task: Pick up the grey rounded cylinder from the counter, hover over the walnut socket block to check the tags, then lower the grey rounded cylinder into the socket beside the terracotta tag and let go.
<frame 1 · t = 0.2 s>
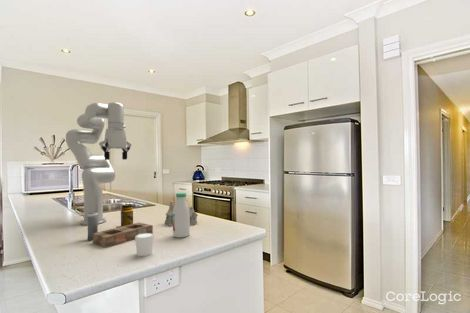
hand: (116, 159, 133), 36 cm above the counter, tool pointing down, fingers open, 9 cm apart
milk bottle: (181, 235, 121), on the counter
socket block: (124, 237, 118), on the counter
condiment: (125, 227, 137), on the counter
shot glass: (144, 254, 99), on the counter
grey rounded cylinder: (92, 239, 117), on the counter
gray stone sculpture: (180, 224, 144), on the counter
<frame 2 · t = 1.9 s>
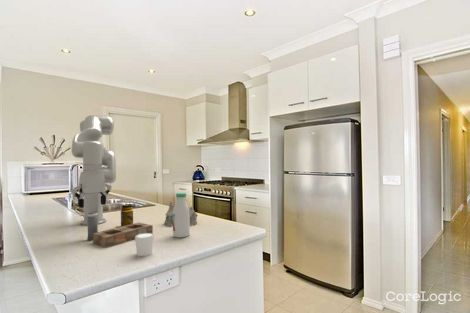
hand: (92, 206, 116), 15 cm above the counter, tool pointing down, fingers open, 9 cm apart
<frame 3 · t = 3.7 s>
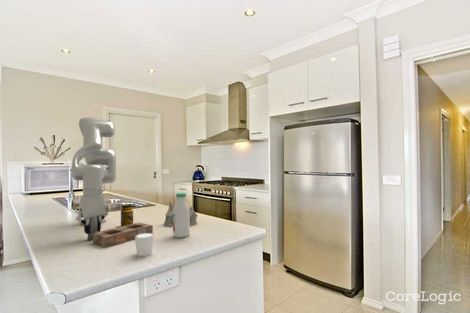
hand: (92, 231, 117), 3 cm above the counter, tool pointing down, fingers closed on grey rounded cylinder, 4 cm apart
grey rounded cylinder: (92, 239, 117), on the counter, touching gripper
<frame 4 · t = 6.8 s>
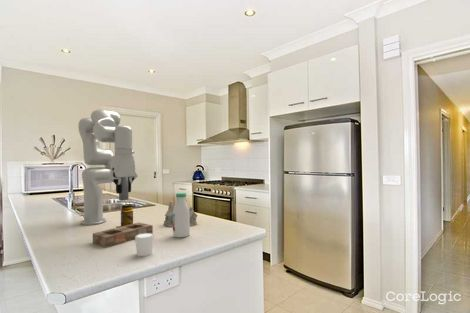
hand: (123, 192, 118), 21 cm above the counter, tool pointing down, fingers closed on grey rounded cylinder, 4 cm apart
grey rounded cylinder: (123, 199, 118), point 18 cm above the counter, touching gripper
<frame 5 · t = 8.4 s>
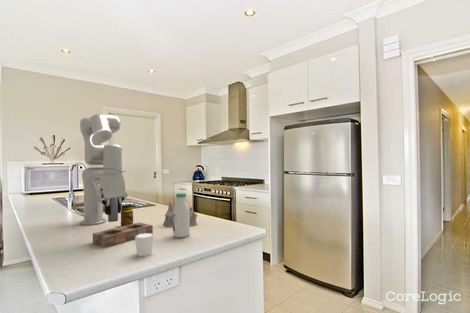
hand: (112, 213, 114), 12 cm above the counter, tool pointing down, fingers closed on grey rounded cylinder, 4 cm apart
grey rounded cylinder: (113, 220, 113), point 9 cm above the counter, touching gripper
when the fingers open (5 cm above the counter, at t = 10.0 s): grey rounded cylinder drops 1 cm, resting in socket block.
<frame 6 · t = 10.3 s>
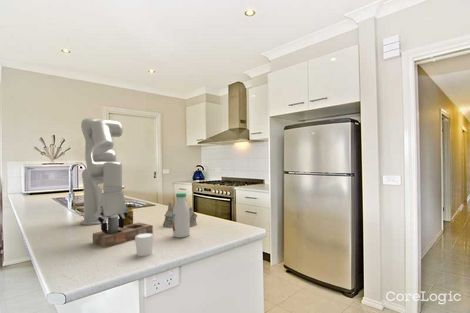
hand: (112, 229, 114), 5 cm above the counter, tool pointing down, fingers open, 7 cm apart
grey rounded cylinder: (112, 241, 114), resting in socket block
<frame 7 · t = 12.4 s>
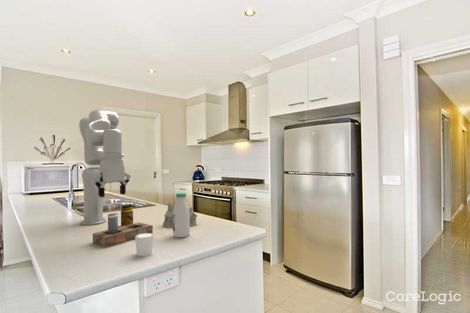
hand: (112, 195, 114), 20 cm above the counter, tool pointing down, fingers open, 9 cm apart
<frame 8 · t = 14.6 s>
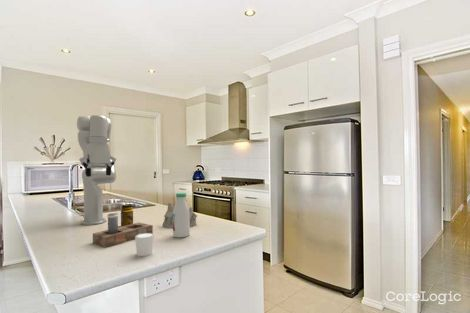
hand: (98, 175, 125), 28 cm above the counter, tool pointing down, fingers open, 9 cm apart
at the end: grey rounded cylinder 0.0 cm from the target spot on the socket block, point 0.0 cm above the socket block's base; grey rounded cylinder tilted 0°; the gripper is holding nothing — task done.
